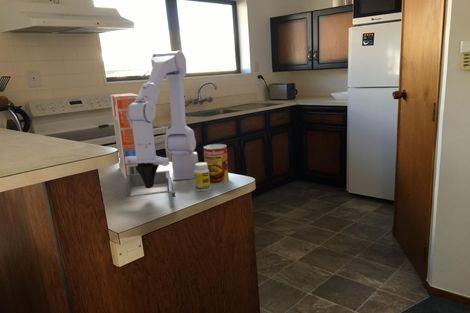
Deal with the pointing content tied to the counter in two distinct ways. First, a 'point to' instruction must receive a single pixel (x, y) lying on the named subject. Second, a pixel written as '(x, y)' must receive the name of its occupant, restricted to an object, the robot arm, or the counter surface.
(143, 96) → the robot arm
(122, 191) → the counter surface
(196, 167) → the supplement bottle
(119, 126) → the pasta box
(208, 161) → the canned food
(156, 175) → the housing
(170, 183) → the door
